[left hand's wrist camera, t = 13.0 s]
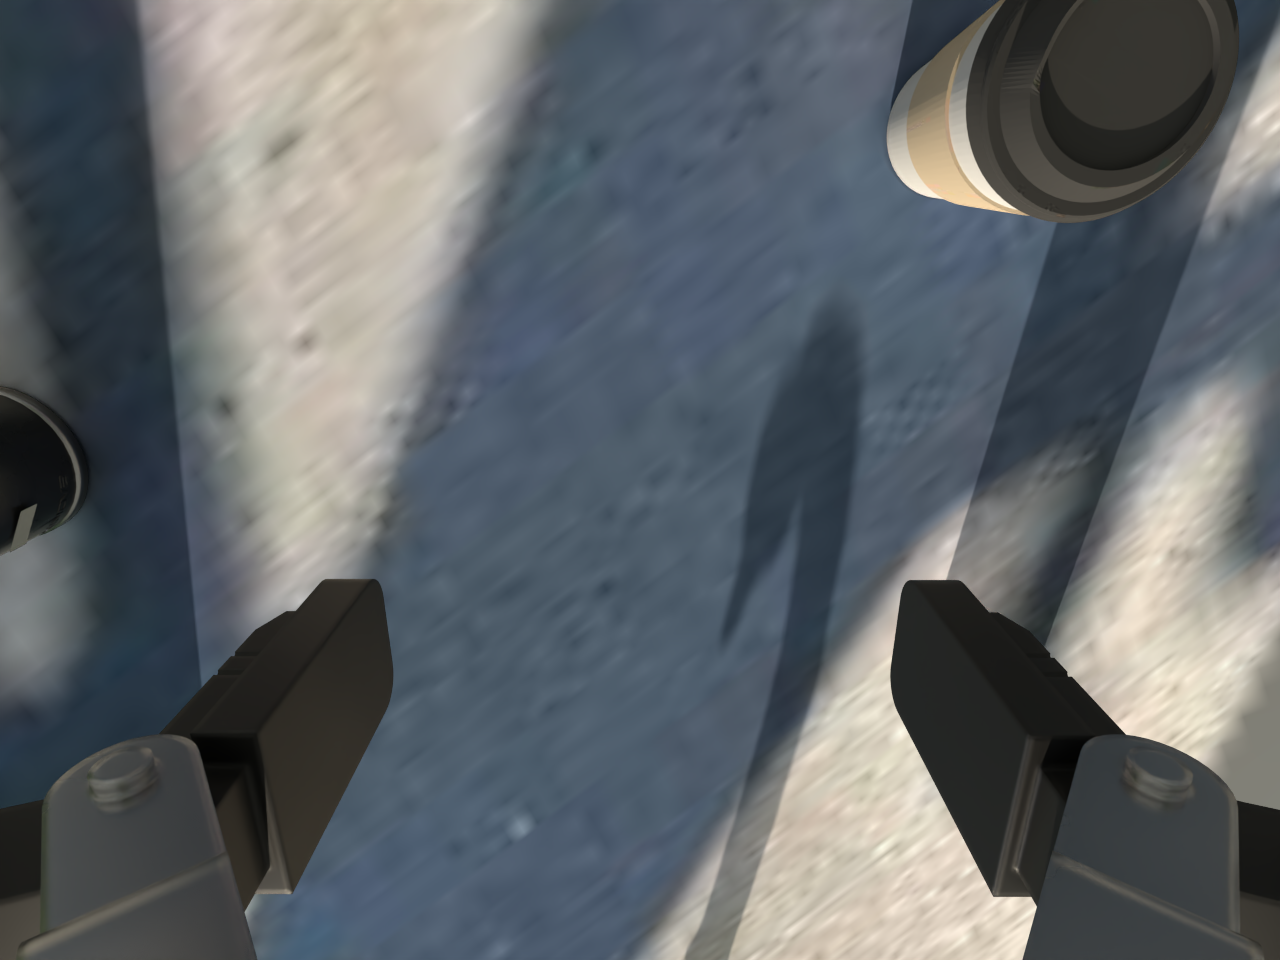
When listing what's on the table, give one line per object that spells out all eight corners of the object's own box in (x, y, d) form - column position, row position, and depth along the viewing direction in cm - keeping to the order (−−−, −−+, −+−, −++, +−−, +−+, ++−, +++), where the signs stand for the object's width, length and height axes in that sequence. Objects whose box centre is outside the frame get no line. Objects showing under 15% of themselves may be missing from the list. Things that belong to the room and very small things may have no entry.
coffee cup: (1077, 86, 37) (1346, 7, 23) (970, 251, 40) (1152, 271, 26) (931, -11, 36) (1123, -158, 21) (831, 167, 38) (942, 140, 24)
